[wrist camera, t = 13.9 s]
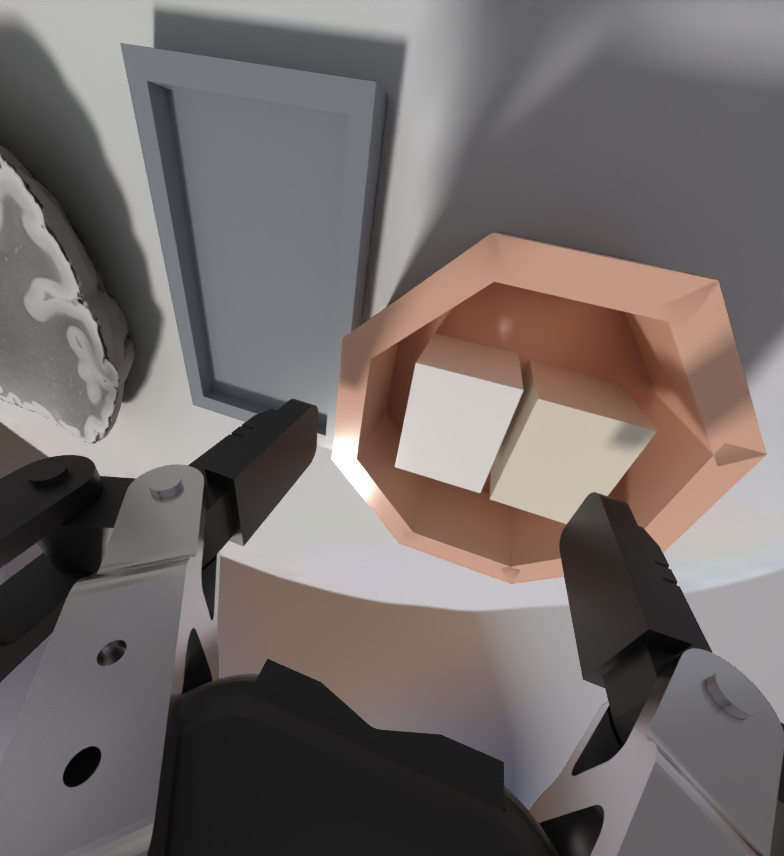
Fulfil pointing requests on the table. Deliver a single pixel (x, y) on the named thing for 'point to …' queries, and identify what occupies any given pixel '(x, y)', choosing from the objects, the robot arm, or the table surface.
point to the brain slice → (55, 315)
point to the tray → (260, 221)
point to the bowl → (566, 348)
